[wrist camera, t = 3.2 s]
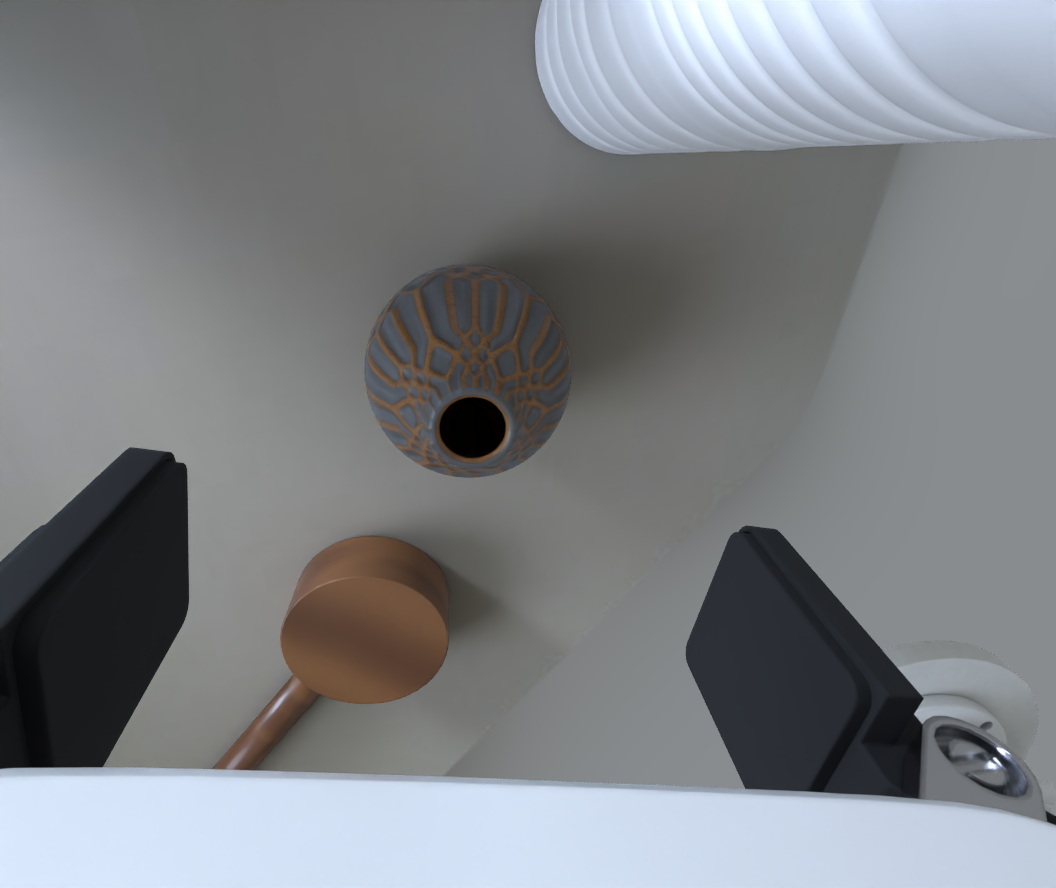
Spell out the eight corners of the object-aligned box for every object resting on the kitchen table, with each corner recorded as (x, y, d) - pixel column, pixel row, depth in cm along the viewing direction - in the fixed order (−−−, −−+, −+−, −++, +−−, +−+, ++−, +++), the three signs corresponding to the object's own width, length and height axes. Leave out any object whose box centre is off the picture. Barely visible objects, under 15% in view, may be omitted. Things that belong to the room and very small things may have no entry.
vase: (588, 315, 25) (650, 389, 17) (494, 451, 27) (511, 575, 19) (435, 213, 22) (423, 243, 14) (347, 369, 24) (294, 471, 17)
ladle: (352, 508, 27) (340, 547, 24) (479, 584, 29) (481, 627, 27) (96, 824, 33) (64, 883, 31) (218, 865, 36) (198, 923, 33)
